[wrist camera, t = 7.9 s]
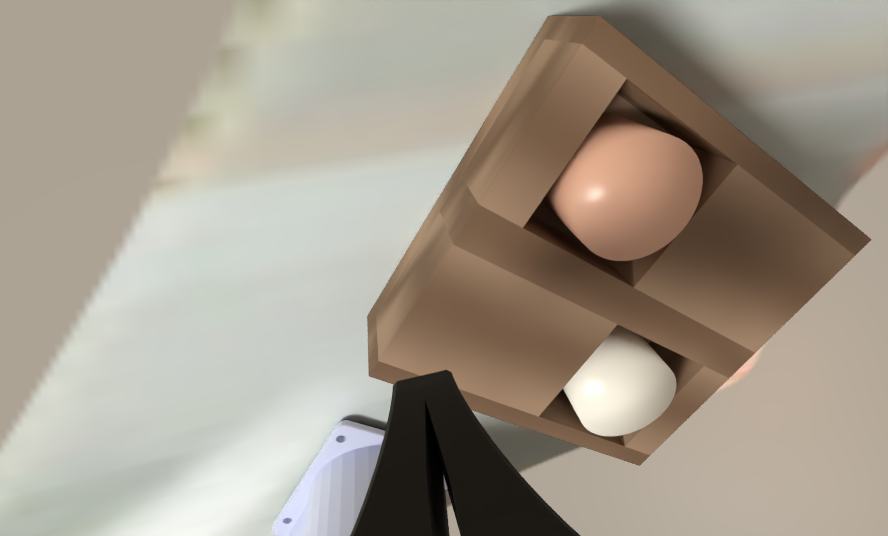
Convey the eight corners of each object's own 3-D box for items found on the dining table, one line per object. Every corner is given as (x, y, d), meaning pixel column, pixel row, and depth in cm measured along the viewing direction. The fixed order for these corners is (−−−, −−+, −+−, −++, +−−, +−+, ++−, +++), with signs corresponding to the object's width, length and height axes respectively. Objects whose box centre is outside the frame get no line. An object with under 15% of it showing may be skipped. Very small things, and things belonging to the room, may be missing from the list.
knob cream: (597, 393, 24) (630, 446, 21) (532, 368, 22) (558, 421, 19) (652, 331, 23) (696, 379, 20) (587, 299, 21) (625, 346, 18)
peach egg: (598, 239, 19) (640, 279, 16) (517, 193, 18) (548, 228, 15) (668, 149, 18) (728, 175, 15) (586, 89, 16) (637, 105, 13)
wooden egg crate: (602, 406, 26) (639, 465, 23) (367, 316, 21) (368, 376, 17) (789, 203, 22) (871, 239, 18) (548, 16, 16) (600, 15, 13)
